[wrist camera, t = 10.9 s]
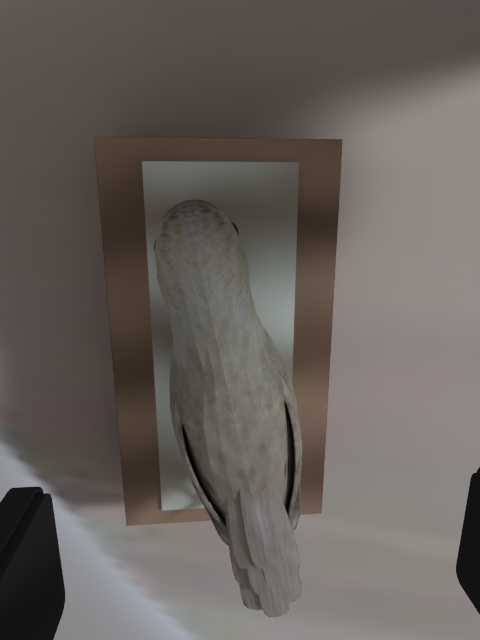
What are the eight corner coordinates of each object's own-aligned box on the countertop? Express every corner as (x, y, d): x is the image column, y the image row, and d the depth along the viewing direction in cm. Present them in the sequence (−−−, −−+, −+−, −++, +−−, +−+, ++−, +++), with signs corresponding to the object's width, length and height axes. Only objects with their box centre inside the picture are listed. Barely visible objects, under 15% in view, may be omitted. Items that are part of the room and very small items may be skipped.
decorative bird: (247, 188, 20) (274, 180, 12) (302, 484, 24) (346, 605, 17) (130, 212, 20) (90, 219, 12) (208, 506, 24) (211, 637, 17)
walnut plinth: (111, 147, 23) (93, 136, 19) (319, 149, 24) (343, 138, 19) (136, 481, 28) (125, 528, 24) (305, 471, 29) (322, 515, 25)
